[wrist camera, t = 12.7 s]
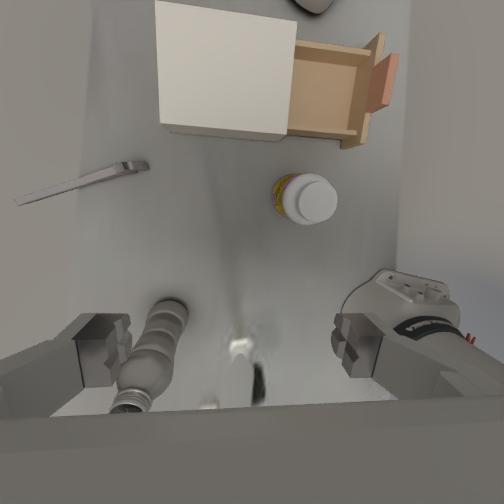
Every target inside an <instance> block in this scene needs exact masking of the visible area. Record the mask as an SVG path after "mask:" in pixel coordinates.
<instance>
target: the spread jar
mask: <svg viewBox="0 0 504 504" xmlns="http://www.w3.org/2000/svg"><path fill="white" fill-rule="evenodd" d="M294 1H295V2H296V3H297V4H298V5H299V6H301V7H302V8H303V9H305V10H307V11H309V12H311V13H316V14H318V13H322V12H324V11H325V10H326V9H327V8H328V7H329V6H330V5H331V3H332V2H333V1H334V0H294Z"/></svg>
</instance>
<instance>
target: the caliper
mask: <svg viewBox="0 0 504 504" xmlns="http://www.w3.org/2000/svg"><path fill="white" fill-rule="evenodd" d="M120 163H121V164H115V165H112V166H113V167H110V168H107V169H103V170H100V171H97V172H94V173H91V174H88V175H86V176H84V177H81V178H78V179H74V180H71V181H68V182H65V183H62V184H59V185H56V186H52V187H49V188H46V189H43V190H40V191H37V192H34V193H30V194H27V195H24V196H21V197H18V198H17V199H14V201H15V202H16V204H17V206H20V205H24V204H28V203H32V202H35V201H38V200H42V199H45V198H48V197H51V196H54V195H58V194H61V193H64V192H67V191H70V190H74V189H77V188H80V187H83V186H86V185H90V184H93V183H96V182H101V181H105V180H108V179H112V178H114V177H117V176H120V175H127V174H135V173H138V171H140V170H148V167H147V164H146V163H145V162H141V161H129V162H120Z"/></svg>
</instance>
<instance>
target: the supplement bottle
mask: <svg viewBox="0 0 504 504" xmlns="http://www.w3.org/2000/svg"><path fill="white" fill-rule="evenodd" d="M272 202H273V205H274V207H275V208H276V209H277V211H279V212H280V213H281V214H283V215H284V216H286V217H287V218H289V219H291V220H292V221H294V222H296V223H298V224H301V225H313V224H316V223H318V222H322V221H325V220H327V219H328V218H330V217H331V216H332V215H333V213H334V212H335V210H336V208H337V204H338V196H337V193H336V191H335V189H334V188H333V187H332V186H331V185H330V183H329V182H328V181H327V180H326V179H325V178H324V177H322V176H320V175H318V174H314V173H305V174H293V175H287V176H284V177H282V178H281V179H279V180H278V181H277V183H276V184H275V186H274V188H273V191H272Z"/></svg>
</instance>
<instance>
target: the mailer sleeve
mask: <svg viewBox="0 0 504 504" xmlns="http://www.w3.org/2000/svg"><path fill="white" fill-rule="evenodd" d="M155 15H156V38H157V61H158V84H159V108H160V123H161V124H162V125H163V126H164V127H165V128H166V129H168V130H169V131H170V132H171V133H181V134H192V135H204V136H215V137H226V138H238V139H249V140H260V141H272V142H278V141H279V140H280V139H282V138H283V137H284V136H285V135H287V124H288V114H289V103H290V93H291V83H292V72H293V62H294V51H295V41H296V30H297V22H296V21H289V20H282V19H276V18H269V17H262V16H256V15H249V14H243V13H236V12H229V11H223V10H216V9H210V8H203V7H196V6H190V5H183V4H176V3H170V2H163V1H157V0H155Z"/></svg>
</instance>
